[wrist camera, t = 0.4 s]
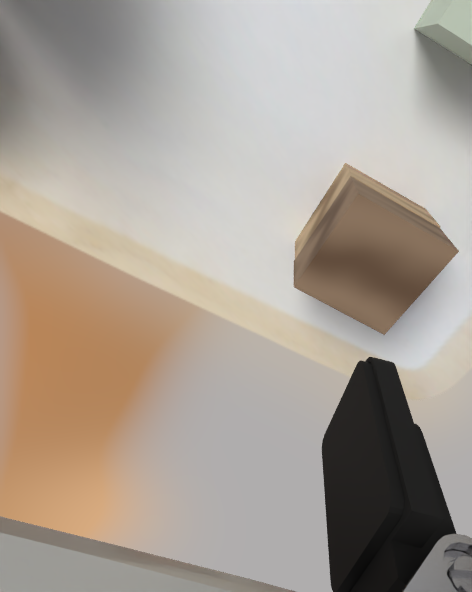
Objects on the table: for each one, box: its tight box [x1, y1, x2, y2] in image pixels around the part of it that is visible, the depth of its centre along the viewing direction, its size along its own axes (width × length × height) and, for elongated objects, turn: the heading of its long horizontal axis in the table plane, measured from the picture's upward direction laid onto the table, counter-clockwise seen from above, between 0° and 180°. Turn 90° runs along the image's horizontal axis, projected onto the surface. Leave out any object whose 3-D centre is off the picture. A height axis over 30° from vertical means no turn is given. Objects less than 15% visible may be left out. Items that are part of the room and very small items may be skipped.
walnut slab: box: [294, 176, 459, 335], centre depth 32 cm, size 8×8×4 cm
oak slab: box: [295, 163, 440, 259], centre depth 36 cm, size 8×8×4 cm
